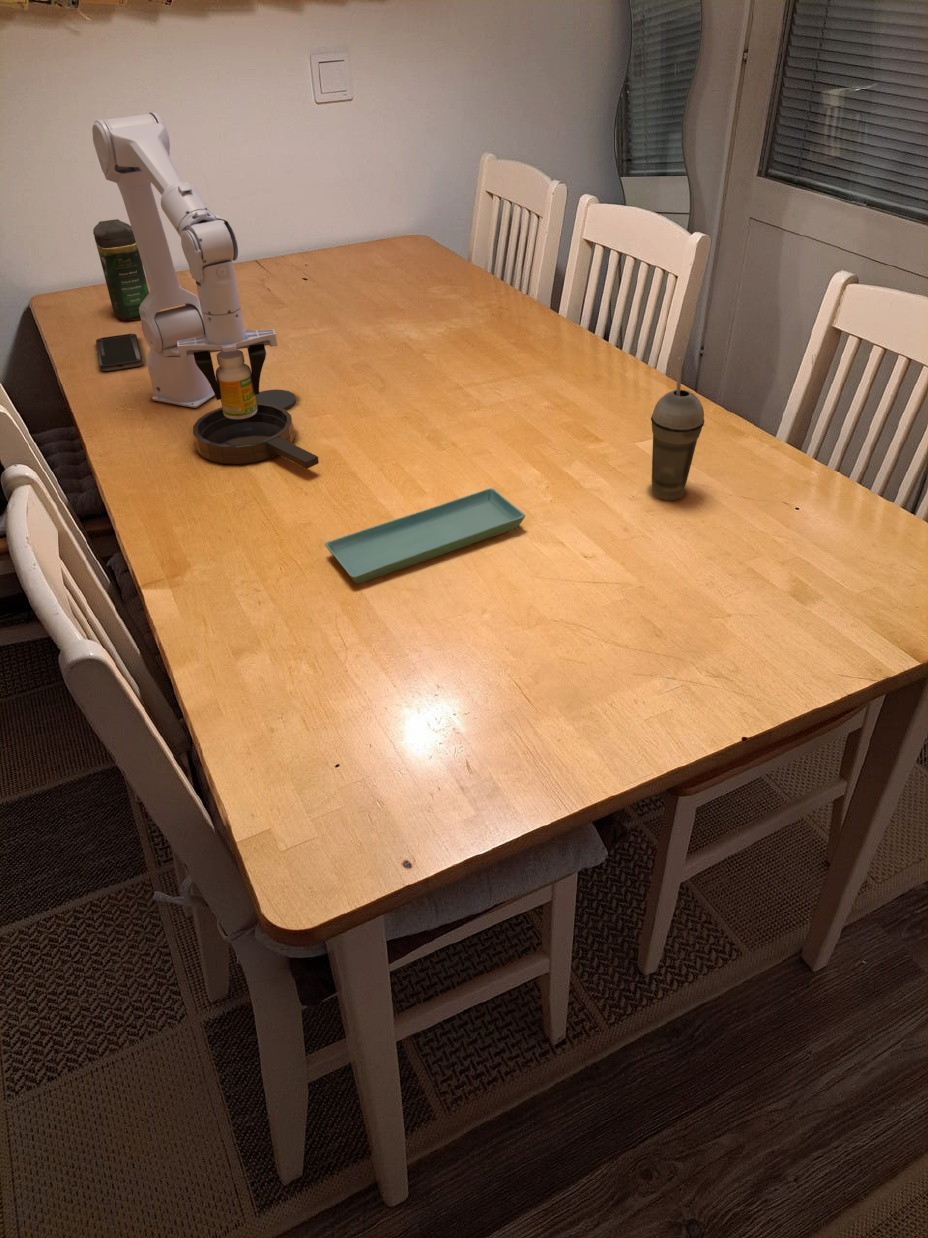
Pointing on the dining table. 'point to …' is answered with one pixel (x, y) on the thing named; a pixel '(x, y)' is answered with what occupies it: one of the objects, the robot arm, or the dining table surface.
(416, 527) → the teal serving tray
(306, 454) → the pan handle
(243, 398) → the supplement bottle
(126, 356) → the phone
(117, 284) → the coffee jar
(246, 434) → the pan
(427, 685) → the dining table surface
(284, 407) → the coaster
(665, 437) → the beverage cup
